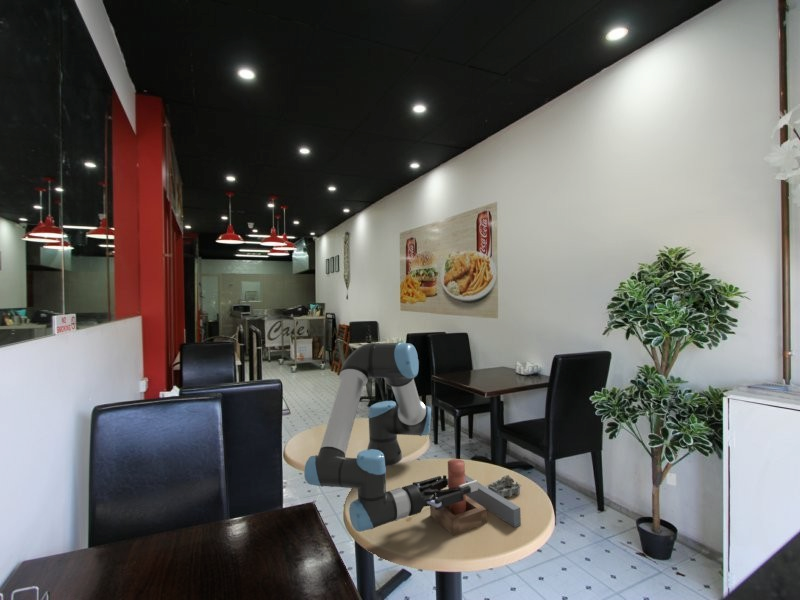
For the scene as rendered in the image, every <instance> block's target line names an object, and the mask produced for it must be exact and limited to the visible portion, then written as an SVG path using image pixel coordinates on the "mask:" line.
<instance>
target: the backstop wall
mask: <svg viewBox="0 0 800 600" xmlns="http://www.w3.org/2000/svg"><path fill="white" fill-rule="evenodd" d="M475 480H476V479H473V478H471V477H469V476H468V475H466V483H468V482H471V481H475ZM466 496H468V497H469V498H471V499H472V500H474V501H475V502H477V503H478V504H480V505H481V506H483V507H484V508H486V510H487V511H489V512H491V513H492V514H494V515H495V516H496V517H498V518H499V519H501V520H503V521H504V522H506V523H507V524H508V525H510V526H511V527H513V528H516V527H519V526H521V525H522V523H521V522H522V521H521V520H522V519H521V518H522V517H521V515H522V514H521V507H520V506H519V505H517V504H515V503H514V502H512V501H510V500H508V499H506V498H505V497H504V498H503V497H502V496H500V495H498V494H497V493H495V492H493V491H492V490H490V489H488V487H487V486H486V485H483V484H481V483H479V482H478V490H477V491H473V492H470V493H468V494H466Z"/></svg>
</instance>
